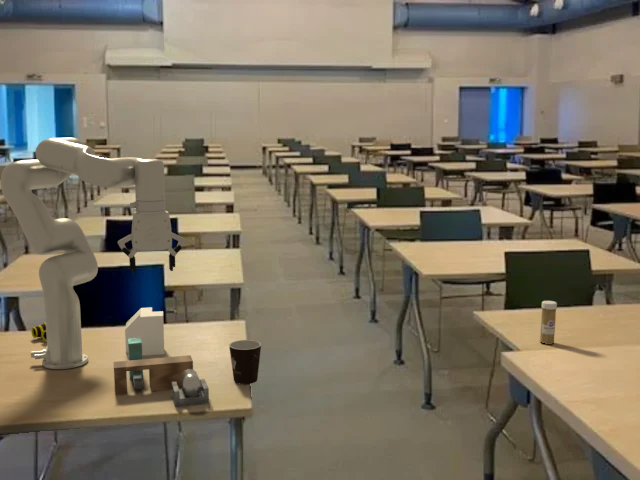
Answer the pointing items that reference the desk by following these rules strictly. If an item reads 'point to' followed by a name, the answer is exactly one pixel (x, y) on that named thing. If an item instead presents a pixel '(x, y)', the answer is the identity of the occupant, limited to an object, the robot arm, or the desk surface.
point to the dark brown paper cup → (245, 360)
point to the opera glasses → (39, 332)
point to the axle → (191, 382)
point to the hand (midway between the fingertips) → (152, 270)
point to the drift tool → (135, 354)
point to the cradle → (185, 400)
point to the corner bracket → (147, 331)
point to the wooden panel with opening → (153, 372)
